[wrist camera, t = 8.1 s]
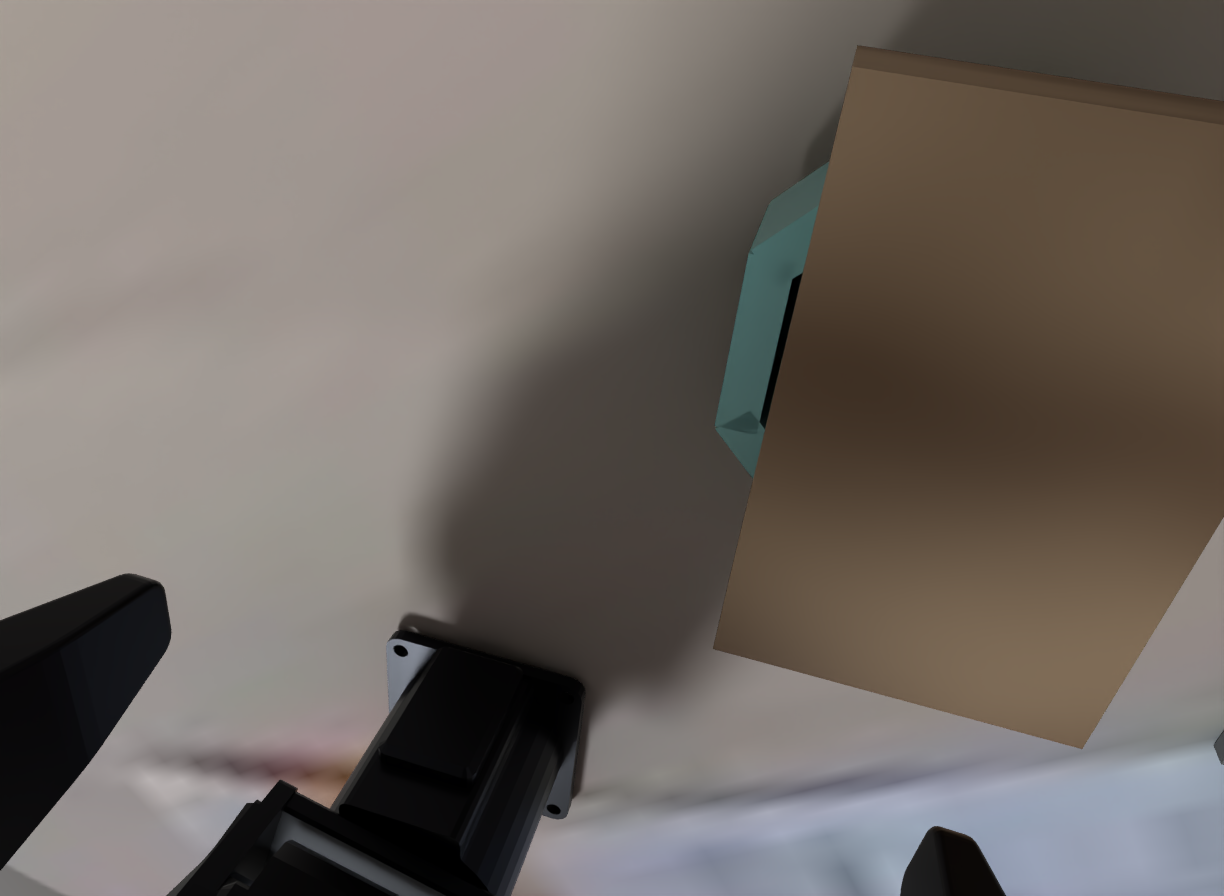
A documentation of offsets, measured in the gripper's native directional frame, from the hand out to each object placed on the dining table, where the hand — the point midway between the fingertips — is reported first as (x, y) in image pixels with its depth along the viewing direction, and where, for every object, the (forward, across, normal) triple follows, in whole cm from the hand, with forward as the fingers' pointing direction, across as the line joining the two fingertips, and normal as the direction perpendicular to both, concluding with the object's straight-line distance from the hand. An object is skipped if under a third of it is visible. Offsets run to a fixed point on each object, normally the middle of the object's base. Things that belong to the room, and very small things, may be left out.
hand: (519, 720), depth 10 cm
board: (+8, -5, -2) cm, 10 cm away
